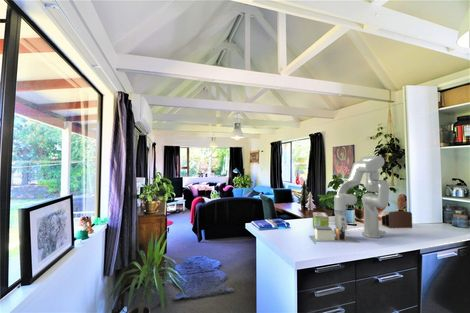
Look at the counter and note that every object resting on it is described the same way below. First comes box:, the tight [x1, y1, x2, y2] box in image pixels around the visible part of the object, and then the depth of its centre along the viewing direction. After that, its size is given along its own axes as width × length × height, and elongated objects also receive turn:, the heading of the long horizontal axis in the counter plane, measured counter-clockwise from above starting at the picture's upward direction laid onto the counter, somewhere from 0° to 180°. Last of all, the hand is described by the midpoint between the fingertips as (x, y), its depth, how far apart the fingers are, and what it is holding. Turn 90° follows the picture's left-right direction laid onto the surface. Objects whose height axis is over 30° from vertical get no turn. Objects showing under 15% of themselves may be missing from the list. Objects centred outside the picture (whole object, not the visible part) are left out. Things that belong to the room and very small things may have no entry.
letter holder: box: [381, 210, 413, 229], centre depth 197 cm, size 10×20×14 cm, turn 91°
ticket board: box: [308, 226, 360, 245], centre depth 162 cm, size 30×14×9 cm, turn 87°
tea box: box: [312, 211, 330, 233], centre depth 181 cm, size 15×10×15 cm, turn 168°
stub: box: [335, 227, 346, 240], centre depth 161 cm, size 5×4×7 cm
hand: (340, 238), depth 161 cm, fingers closed on stub, 4 cm apart
